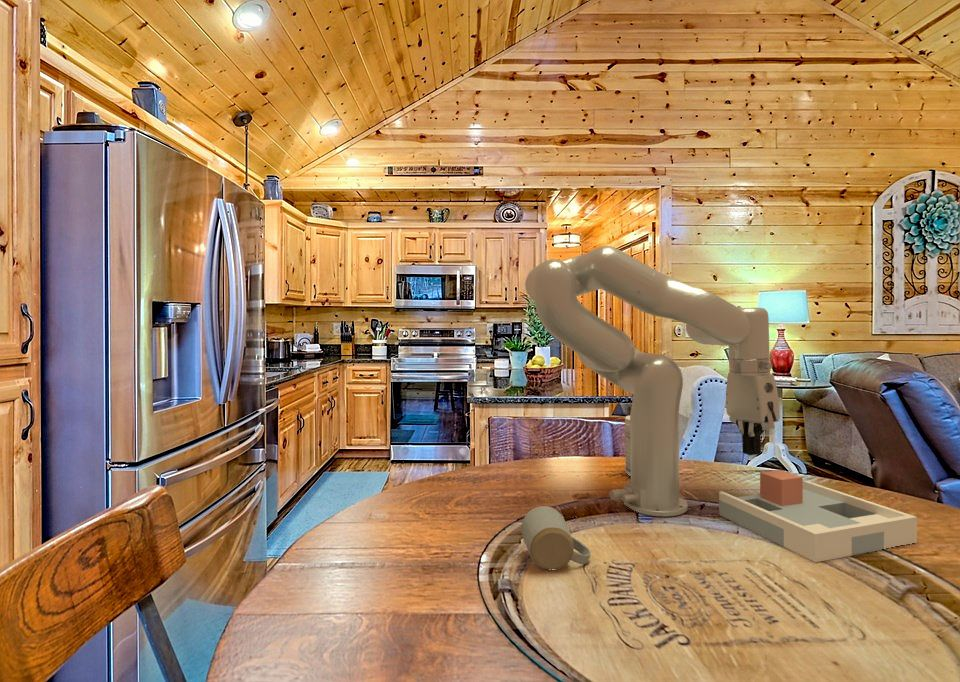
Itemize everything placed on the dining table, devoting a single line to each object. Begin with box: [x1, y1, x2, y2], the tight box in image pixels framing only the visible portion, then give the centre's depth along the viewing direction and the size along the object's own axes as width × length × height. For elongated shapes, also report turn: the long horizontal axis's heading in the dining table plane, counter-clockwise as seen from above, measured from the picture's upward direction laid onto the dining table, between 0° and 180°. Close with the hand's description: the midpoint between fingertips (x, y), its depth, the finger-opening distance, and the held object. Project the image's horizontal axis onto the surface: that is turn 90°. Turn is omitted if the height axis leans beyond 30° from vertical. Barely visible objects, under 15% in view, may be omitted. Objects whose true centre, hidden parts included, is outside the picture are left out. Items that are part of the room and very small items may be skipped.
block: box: [759, 469, 804, 506], centre depth 96 cm, size 5×5×5 cm
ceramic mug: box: [520, 505, 592, 571], centre depth 79 cm, size 11×8×8 cm
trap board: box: [718, 480, 918, 563], centre depth 90 cm, size 22×20×4 cm
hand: (751, 453), depth 103 cm, fingers closed
